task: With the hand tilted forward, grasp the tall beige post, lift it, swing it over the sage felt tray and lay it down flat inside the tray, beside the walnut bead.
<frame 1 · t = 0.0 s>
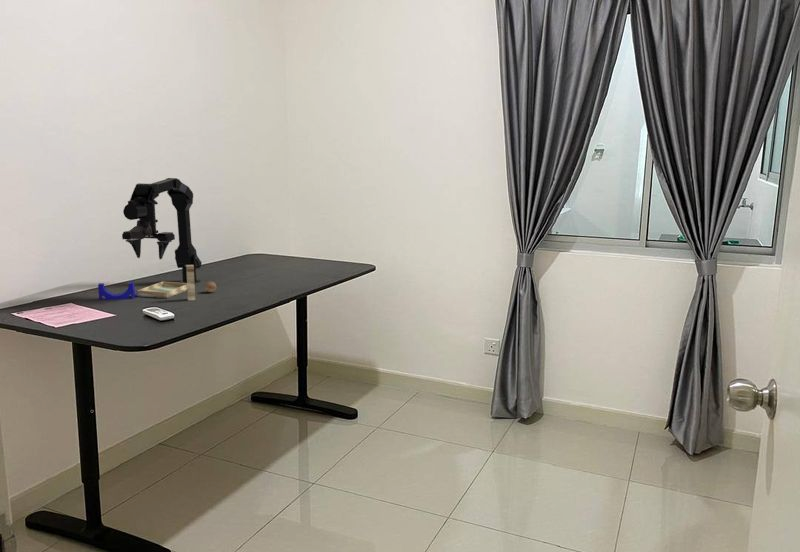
hand: (149, 258, 243), 15 cm above the table, tool pointing down, fingers open, 9 cm apart
tray: (164, 292, 253), on the table
tall beige post: (191, 299, 242), on the table
cable clip: (117, 299, 242), on the table
bead: (210, 292, 254), on the table
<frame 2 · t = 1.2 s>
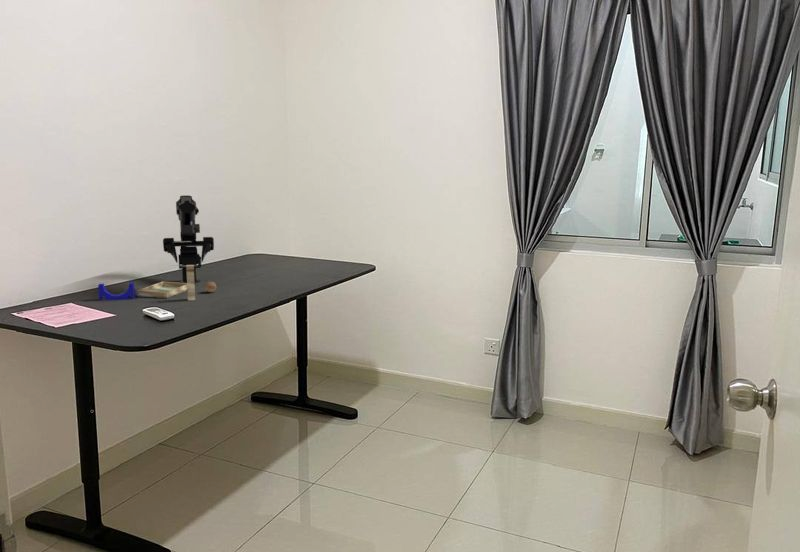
hand: (189, 261, 246), 13 cm above the table, tool tilted 45°, fingers open, 9 cm apart
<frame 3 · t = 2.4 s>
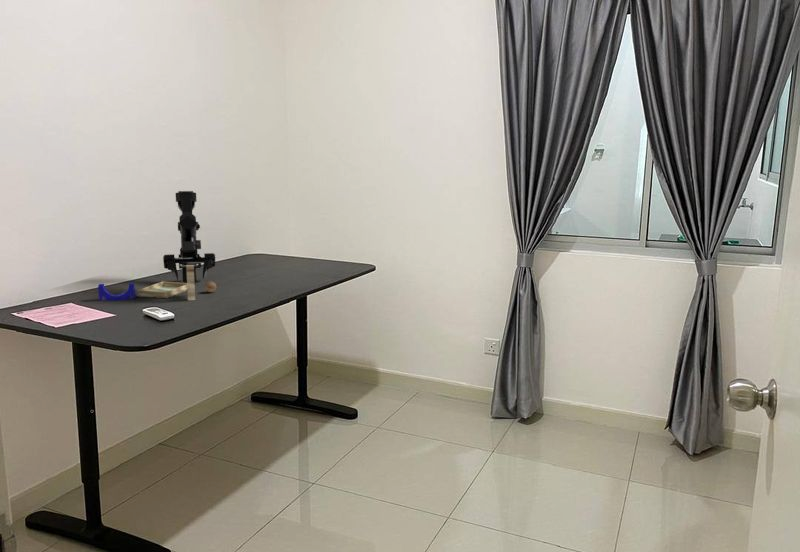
hand: (190, 278, 240), 8 cm above the table, tool tilted 45°, fingers open, 9 cm apart
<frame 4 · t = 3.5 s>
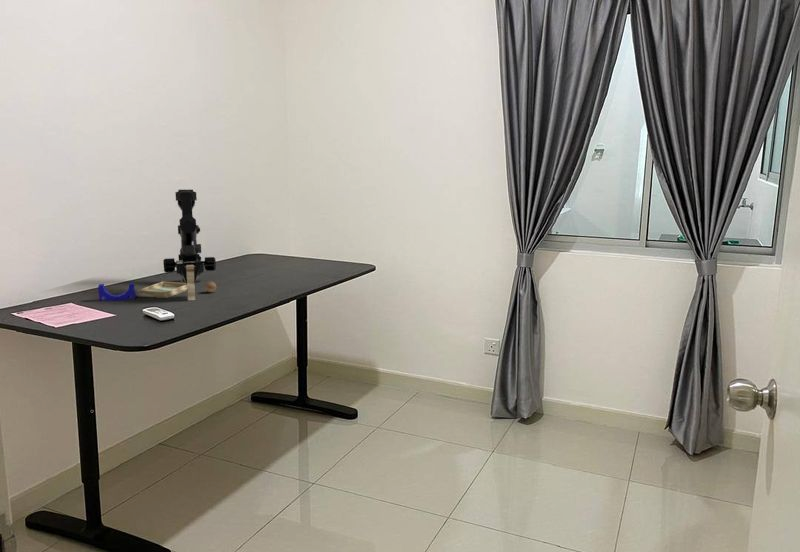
hand: (190, 283, 239), 7 cm above the table, tool tilted 45°, fingers closed on tall beige post, 3 cm apart
tall beige post: (191, 299, 242), on the table, touching gripper
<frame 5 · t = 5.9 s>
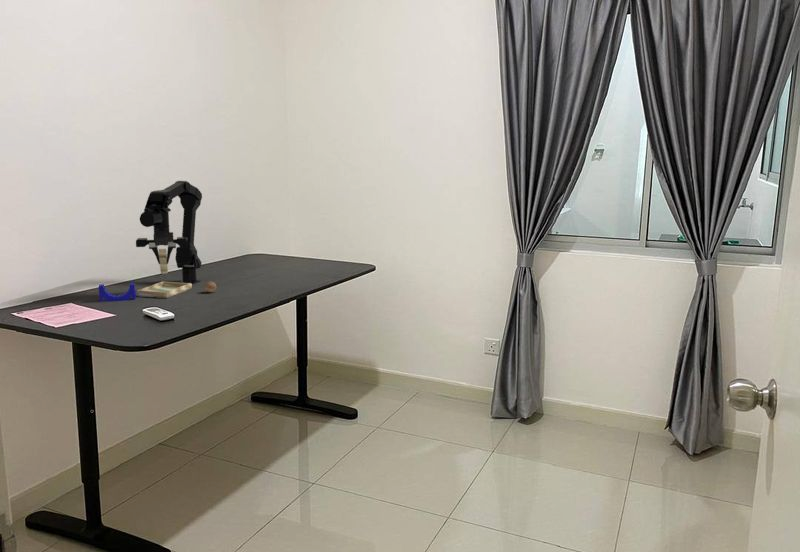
hand: (163, 263, 250), 11 cm above the table, tool pointing down, fingers closed on tall beige post, 3 cm apart
tall beige post: (164, 270, 256), point 8 cm above the table, tilted 45°, touching gripper
when the fingers open (6 cm above the table, at t = 6.7 s): tall beige post moves 1 cm and tips over, resting on tray.
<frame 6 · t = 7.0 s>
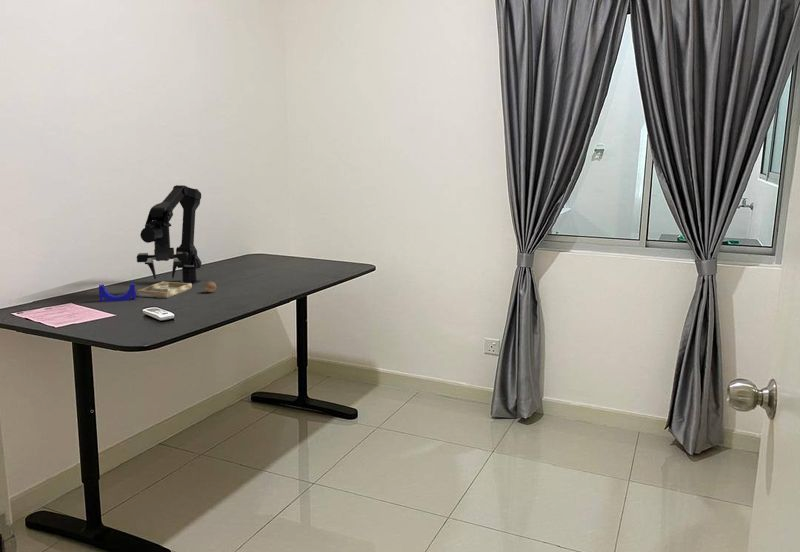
hand: (164, 278, 251), 6 cm above the table, tool pointing down, fingers open, 6 cm apart
tall beige post: (164, 285, 256), point 2 cm above the table, tilted 90°, touching tray
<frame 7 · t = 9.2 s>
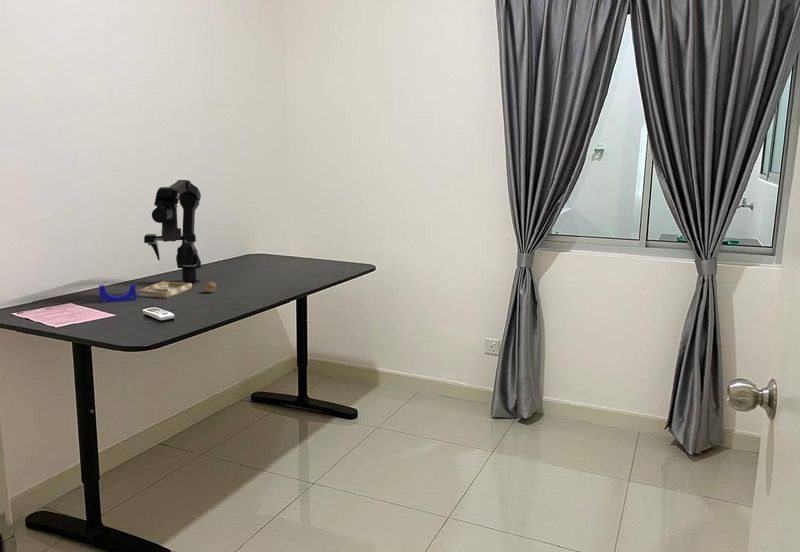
hand: (171, 260, 250), 13 cm above the table, tool pointing down, fingers open, 9 cm apart
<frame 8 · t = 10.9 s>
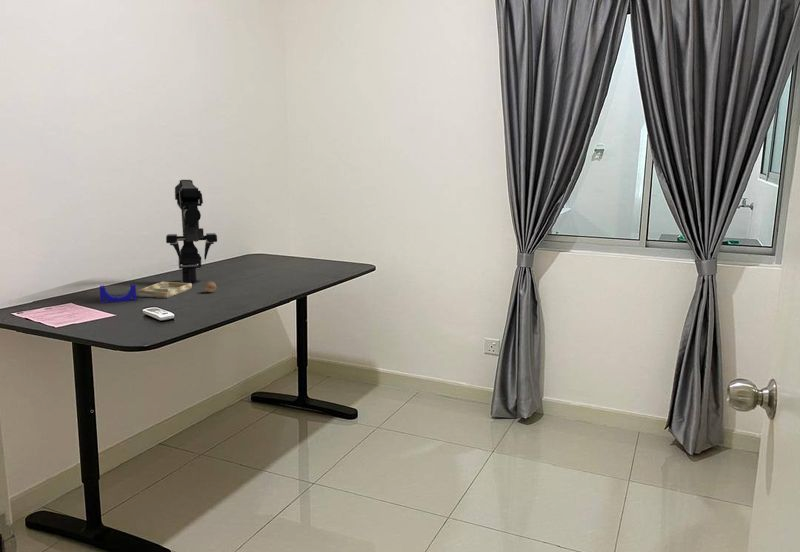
hand: (192, 260, 251), 13 cm above the table, tool pointing down, fingers open, 9 cm apart
at the end: tall beige post tilted 90°; tall beige post inside the target area on the tray (4.6 cm from its centre), point 1.9 cm above the tray's base; the gripper is holding nothing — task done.
